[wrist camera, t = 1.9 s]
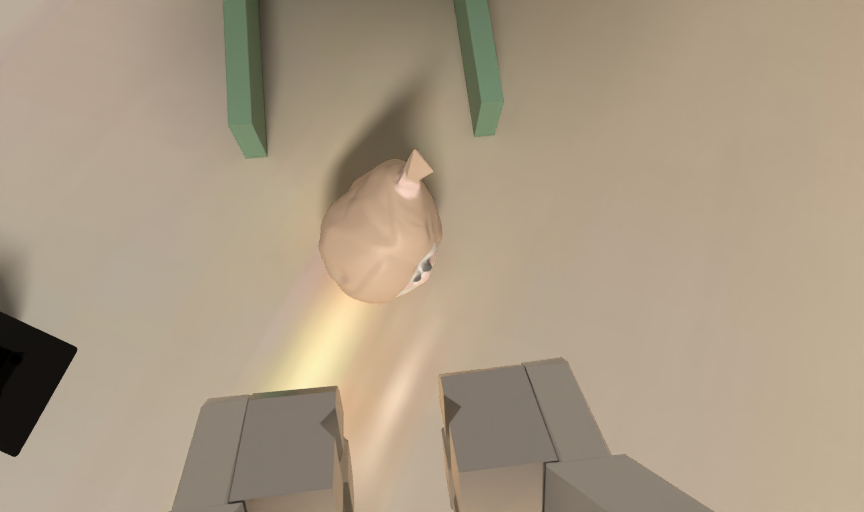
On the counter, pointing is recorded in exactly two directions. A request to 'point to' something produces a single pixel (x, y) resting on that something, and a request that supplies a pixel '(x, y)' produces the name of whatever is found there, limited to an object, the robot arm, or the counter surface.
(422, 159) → the garlic bulb
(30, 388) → the build plate
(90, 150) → the counter surface
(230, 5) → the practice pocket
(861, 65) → the counter surface
